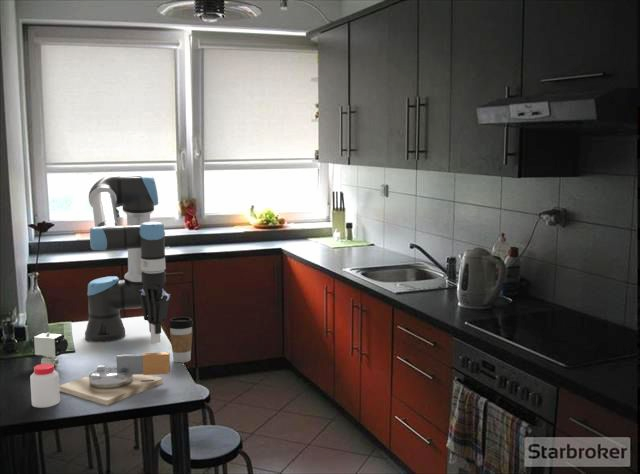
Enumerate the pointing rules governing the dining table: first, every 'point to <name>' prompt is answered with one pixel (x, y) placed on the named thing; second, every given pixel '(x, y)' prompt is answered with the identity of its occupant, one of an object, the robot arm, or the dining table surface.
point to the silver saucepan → (129, 369)
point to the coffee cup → (181, 338)
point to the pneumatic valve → (49, 347)
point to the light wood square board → (112, 394)
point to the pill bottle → (45, 386)
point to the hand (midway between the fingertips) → (155, 342)
